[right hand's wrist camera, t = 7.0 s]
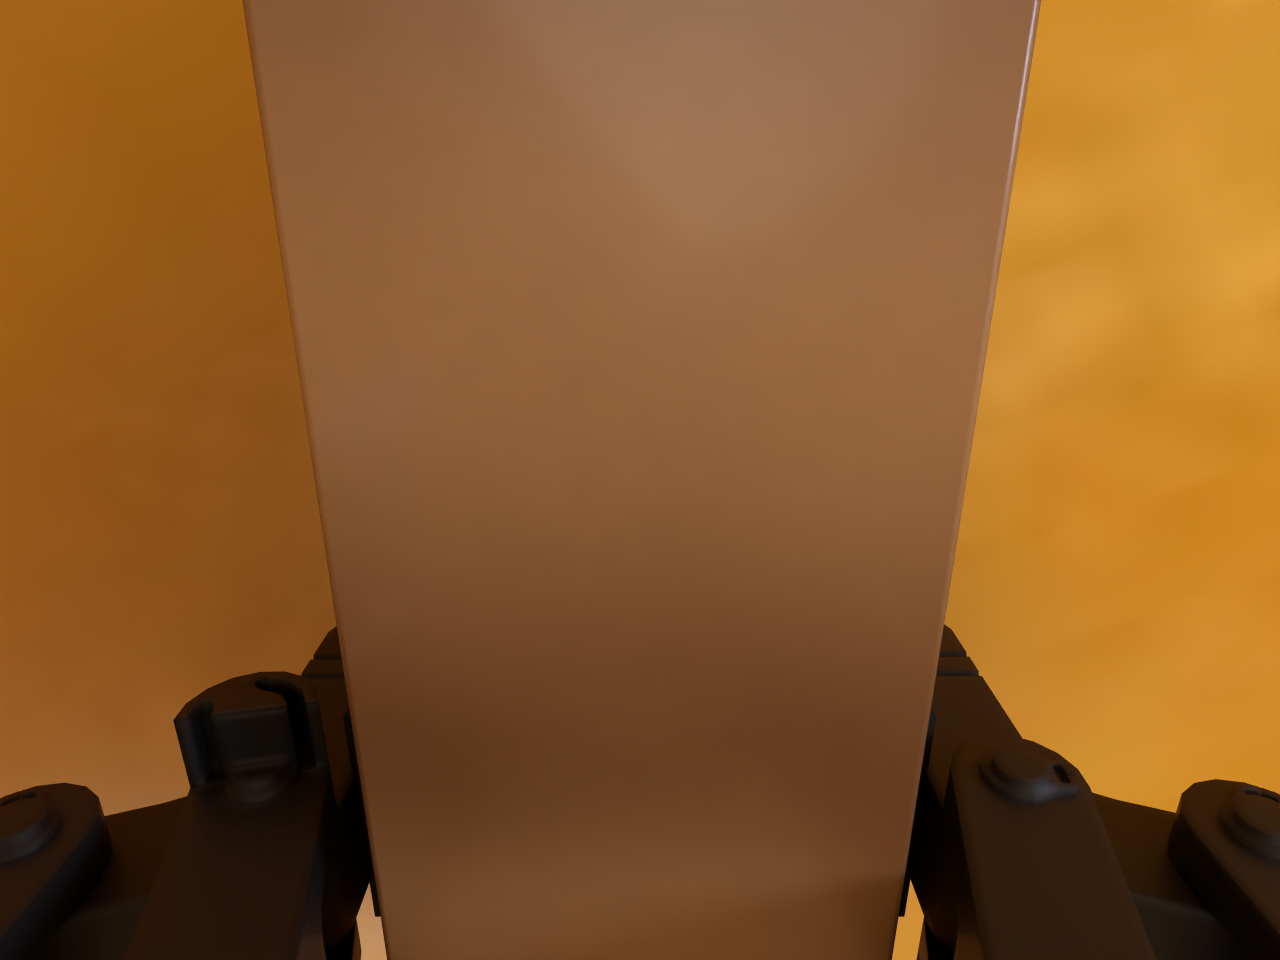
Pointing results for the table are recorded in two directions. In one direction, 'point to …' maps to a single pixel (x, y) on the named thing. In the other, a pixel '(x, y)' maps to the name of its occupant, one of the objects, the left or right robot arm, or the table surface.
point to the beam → (640, 443)
